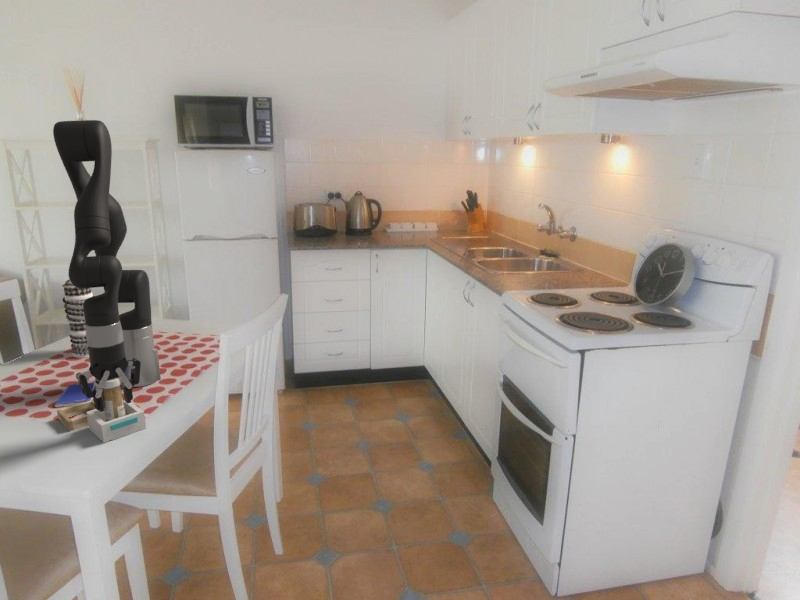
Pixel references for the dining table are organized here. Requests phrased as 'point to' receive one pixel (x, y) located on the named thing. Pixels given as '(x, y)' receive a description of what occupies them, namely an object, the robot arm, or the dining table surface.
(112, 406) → the sprinkles bottle
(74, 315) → the decorative candle
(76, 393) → the hard drive
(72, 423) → the wooden square frame
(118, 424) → the block
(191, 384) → the dining table surface
